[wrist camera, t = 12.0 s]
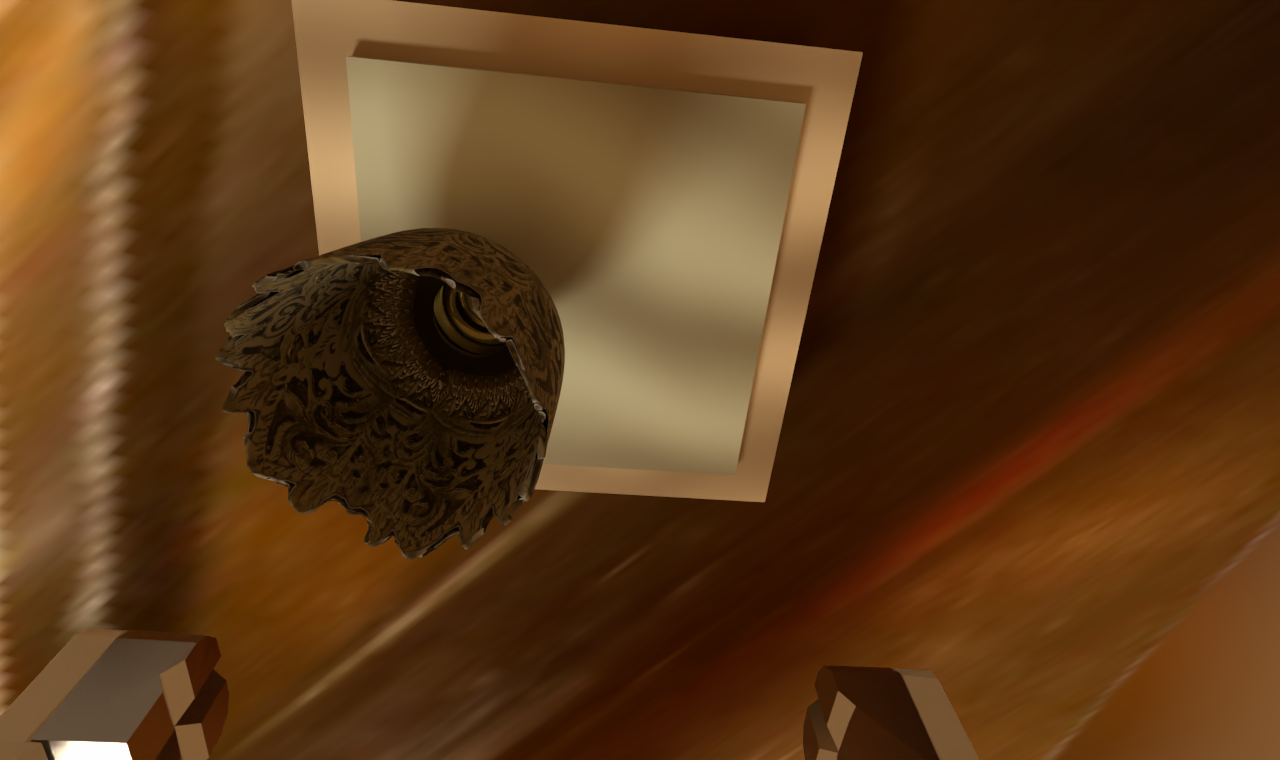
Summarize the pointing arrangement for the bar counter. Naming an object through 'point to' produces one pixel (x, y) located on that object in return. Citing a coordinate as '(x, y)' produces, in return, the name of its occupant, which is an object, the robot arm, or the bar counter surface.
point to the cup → (401, 383)
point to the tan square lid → (600, 209)
